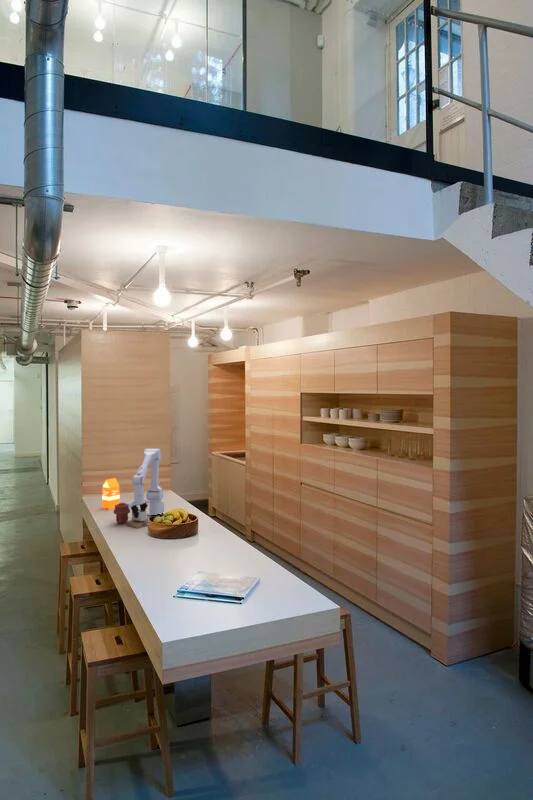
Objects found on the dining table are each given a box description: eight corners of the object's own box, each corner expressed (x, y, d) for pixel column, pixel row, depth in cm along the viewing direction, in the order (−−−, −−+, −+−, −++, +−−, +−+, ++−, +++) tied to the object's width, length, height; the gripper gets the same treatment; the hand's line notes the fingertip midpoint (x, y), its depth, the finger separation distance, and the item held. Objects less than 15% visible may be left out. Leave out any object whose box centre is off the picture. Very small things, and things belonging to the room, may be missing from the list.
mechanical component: (117, 520, 330) (132, 521, 329) (111, 525, 320) (126, 525, 319) (117, 501, 329) (132, 501, 328) (110, 505, 319) (126, 505, 318)
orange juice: (119, 506, 366) (119, 478, 365) (109, 509, 358) (109, 480, 357) (112, 505, 370) (111, 477, 369) (102, 507, 362) (101, 479, 362)
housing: (146, 519, 320) (146, 510, 320) (140, 521, 316) (140, 512, 316) (137, 517, 325) (137, 508, 324) (131, 519, 321) (131, 510, 321)
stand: (140, 521, 328) (140, 517, 328) (152, 524, 322) (152, 520, 321) (126, 525, 320) (126, 521, 319) (137, 528, 313) (137, 524, 313)
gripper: (144, 491, 328) (144, 513, 329) (125, 495, 316) (125, 518, 317) (151, 493, 324) (151, 515, 324) (132, 497, 312) (132, 520, 313)
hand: (139, 516), depth 320 cm, fingers open, 4 cm apart
